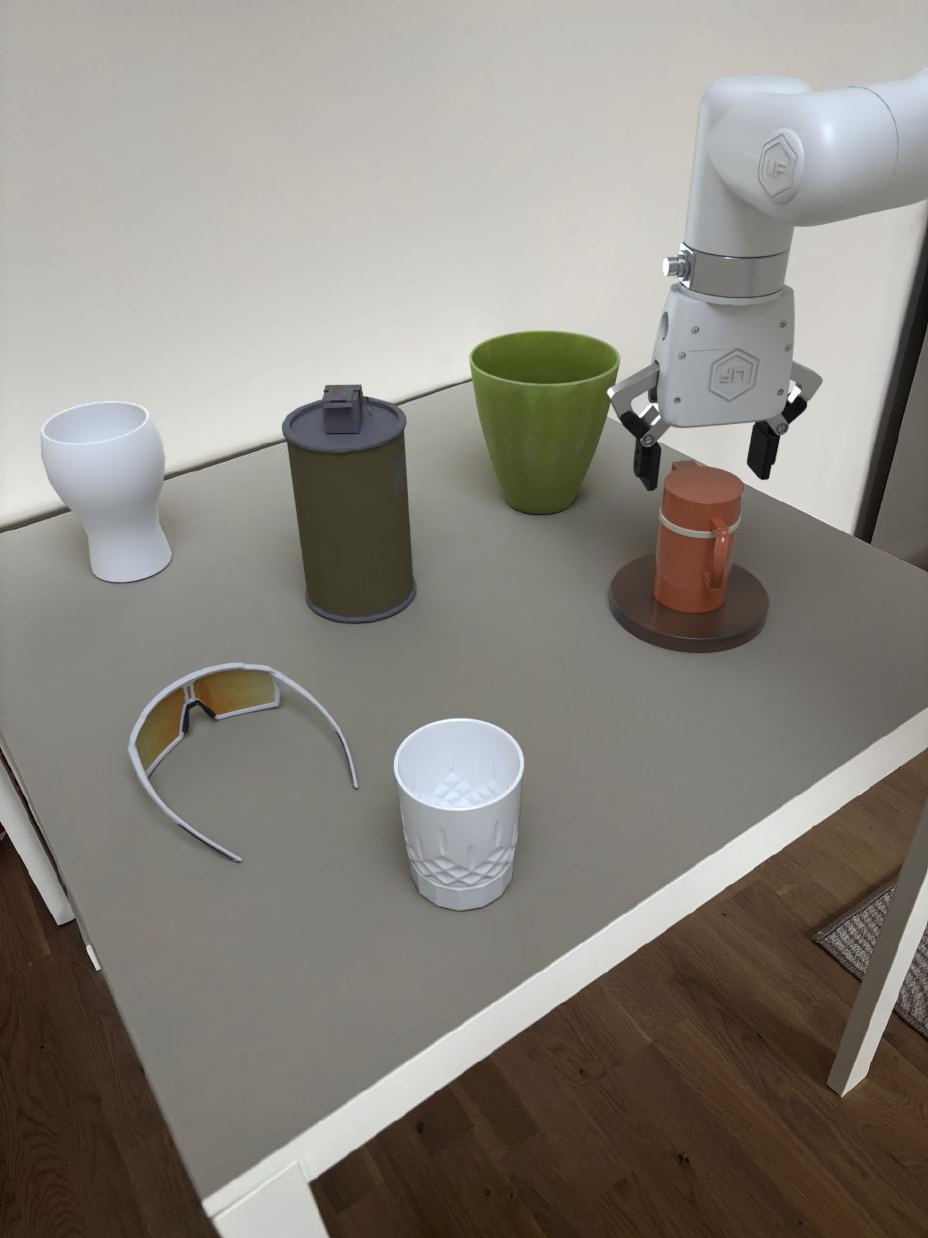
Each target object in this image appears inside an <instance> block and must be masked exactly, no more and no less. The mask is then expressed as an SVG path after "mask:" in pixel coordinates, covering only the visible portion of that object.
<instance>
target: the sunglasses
mask: <svg viewBox="0 0 928 1238" xmlns="http://www.w3.org/2000/svg"><path fill="white" fill-rule="evenodd" d="M281 687H282V688H284V689H285V690H287V691H288V692H290V693H291V694H293V695H295V696H297V697H300V698H302V699H304V700H306V701H307V702H308V703H310V704H311V705H312V706H313V707H315V709H316V710H317V711H318V712H319V713H320V714H321V716H323V718H324V719H325V720H326V722H327V723H328V725H329V726H330V728H332V730H333V731H334V732H335V734H336V736H337V737H338V740H339V741H340V743H341V746H342V749H343V751H344V754H345V756H346V757H345V758H346V760H347V763H348V767H349V771H350V776H351V781H352V785H353V788H354V789H358V787H359V786H358V780H357V774H356V770H355V765H354V762H353V757H352V754H351V750H350V747H349V744H348V743H347V740H346V738H345V736H344V734H343V732H342V730H341V728H340V727H339V725H338V723H336V721H335V720H334V718H333V717H332V716H331V715H330V713H329V712H328V711H327V710H326V709H325V708H324V706H323V705H322V704H321V703H320V702H319V701H318V700H317V699H316V698H315V697H314V696H313V695H311V693H310V692H309V691H308V690H307V689H305V688H304V687H302V686H301V685H300V684H298V683H297V682H296V681H294V680H292V679H291V678H289V677H288V676H287V675H285V674H283V673H282V672H280V671H279V670H277V669H274V668H272V667H271V666H269V665H263V664H251V663H243V662H229V663H221V664H216V665H212V666H207V667H205V668H202V669H199V670H197V671H193V672H191V673H189V674H187V675H185V676H183V677H180V678H179V679H177V680H175V681H174V682H172V683H171V684H169V685H168V686H166V687H165V688H164V689H162V690H161V691H160V692H159V693H158V694H156V695H155V696H154V697H153V699H152V700H151V701H150V702H149V703H148V704H146V706H145V707H144V709H143V710H142V712H140V715H139V718H138V719H137V721H136V722H135V724H134V727H133V728H132V731H131V734H130V736H129V741H128V747H127V754H128V758H129V761H130V763H131V766H132V768H133V770H134V773H135V776H136V778H137V780H138V781H139V783H140V784H141V786H142V787H143V788H144V790H145V791H146V792H147V793H148V795H149V796H150V797H151V799H152V800H153V801H154V802H155V803H156V804H157V805H158V806H159V808H160V809H161V810H162V811H163V812H164V814H165V815H166V816H167V817H168V818H169V819H170V820H172V822H174V823H175V824H177V826H178V827H179V828H180V829H182V830H184V831H185V832H186V833H187V834H189V835H190V836H192V837H193V838H194V839H196V840H197V841H199V842H200V843H202V844H204V845H205V846H206V847H208V848H210V849H211V850H213V851H214V852H217V853H218V854H220V855H222V856H223V857H225V858H227V859H229V860H231V861H233V862H242V861H243V858H241V857H240V856H238V855H237V854H235V853H233V852H232V851H230V850H228V849H227V848H224V847H223V846H221V845H220V844H218V843H216V842H215V841H213V840H212V839H211V838H210V839H209V838H208V837H207V836H205V835H203V833H200V832H199V831H197V829H195V828H193V827H192V826H191V825H189V824H188V823H187V822H185V821H184V820H183V819H182V818H181V817H179V816H178V815H177V814H176V813H175V812H174V811H173V810H171V809H170V808H169V807H168V806H167V805H166V803H164V801H163V800H162V799H161V798H160V797H159V796H158V794H157V793H156V791H155V789H154V787H153V785H152V783H151V782H150V781H149V779H148V777H149V776H150V775H151V773H152V772H153V771H154V770H155V768H156V767H157V766H158V764H159V763H160V762H161V761H162V760H163V758H165V756H166V755H168V753H169V752H170V751H171V750H172V749H173V748H174V747H175V746H177V744H178V743H180V742H181V741H182V740H183V738H184V735H185V734H187V733H188V732H189V728H190V710H191V709H193V708H195V707H197V706H199V707H200V708H201V709H202V710H203V711H204V713H205V714H206V715H207V716H208V717H209V718H210V719H215V720H224V719H226V718H229V717H233V716H237V715H243V714H247V713H252V712H257V711H262V710H267V709H273V708H277V707H278V706H280V703H281V701H280V700H281Z"/></svg>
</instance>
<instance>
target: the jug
mask: <svg viewBox="0 0 928 1238" xmlns="http://www.w3.org/2000/svg"><path fill="white" fill-rule="evenodd" d="M744 493H745V484H744V482H743V481H742V479H741V478H740V477H738V476H737V475H736V474H734V473H733V472H730V471H729V470H725V469H722V468H719V467H713V466H707V465H699V464H698V463H697V462H696V460H695V459H685V460H677V461H676V460H675V461H672V462H671V471H670V472H669V473H667V474H666V475H665V477H664V479H663V485H662V493H661V503H660V506H659V510H658V518H659V521H658V530H657V538H656V539H657V540H656V547H655V554H656V556H655V565H654V574H653V583H652V592H653V595H654V597H655V598H656V599H657V600H658V601H659V602H660V603H661V604H663V605H664V606H666V607H668V608H671V609H673V610H676V611H680V612H686V613H703V612H709V611H712V610H715V609H717V608H718V607H720V606H721V605H722V604H723V603H724V602H725V600H726V596H727V590H728V584H729V578H730V572H731V566H732V563H733V560H734V555H735V554H734V553H735V548H736V542H737V535H738V530H739V526H740V524H741V519H742V513H741V511H742V505H743V499H744Z"/></svg>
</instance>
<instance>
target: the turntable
mask: <svg viewBox="0 0 928 1238" xmlns="http://www.w3.org/2000/svg"><path fill="white" fill-rule="evenodd" d="M655 556H656V553H651V554H648V555H647V554H646V555H644V556H640V557H638V558H635V559H634V560H632V561H630V562H628V563H626V564H625V565H623V566H622V567H621V568H620V569H619V570H618V571H617V572H616V574H615V575H614V576H613V579H612V580H611V584H610V590H609V591H610V592H609V607H610V611H611V612H612V613H611V614H612V615H613V617H614V618H615V619H616V621H617V622H618V624H619V625H620V626H622V628H624V630H626V631H627V632H628V633H630V634H632V635H633V636H634V637H636V638H637V639H640V640H642V641H644V642H646V643H649V644H651V645H653V646H656V647H660V648H663V649H668V650H672V651H676V652H685V653H701V654H702V653H715V652H723V651H727V650H732V649H734V648H737V647H740V646H741V645H744V644H746V643H748V642H750V641H751V640H753V639H754V638H755V637H756V636H758V635H759V634H760V632H761V631H762V630H763V628H764V626H765V624H766V621H767V616H768V613H769V607H770V599H769V595H768V592H767V590H766V588H765V586H764V584H762V582H761V580H759V578H757V577H756V576H755V575H754V574H753V573H751V572H750V571H749V570H747V569H746V568H744V567H742V566H740V565H739V564H737V563H734V562H732V566H731V572H730V578H729V584H728V590H727V596H726V600H725V602H724V603H723V604H722V605H721V606H720V607H718V608H717V609H715V610H712V611H709V612H703V613H686V612H680V611H676V610H673V609H671V608H668V607H666V606H664V605H663V604H661V603H660V602H659V601H658V600H657V599H656V598H655V597H654V595H653V592H652V583H653V574H654V565H655Z"/></svg>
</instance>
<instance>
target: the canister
mask: <svg viewBox="0 0 928 1238" xmlns="http://www.w3.org/2000/svg"><path fill="white" fill-rule="evenodd" d="M407 421H408V420H407V416H406V413H405V412H404V410H402V408H400V407H399V406H397V404H395V403H393V402H391V401H387V400H383V399H379V398H375V397H371V396H367V395H364V392H363V385H362V384H325V385H324V389H323V395H322V398H321V399H317V400H314V401H312V402H309V403H306V404H303V405H300V406H299V407H297V408H295V409H294V410H292V411H291V412H289V413H288V414H287V415H286V417H285V418H284V420H283V421H282V423H281V431H282V436H283V437H284V438H285V440H286V447H287V454H288V460H289V461H288V462H289V467H290V468H289V469H290V476H291V482H292V483H291V484H292V490H293V497H294V505H295V513H296V520H297V529H298V535H299V542H300V543H299V544H300V551H301V557H302V564H303V565H302V566H303V573H304V579H305V590H304V597H305V601H306V603H307V605H308V607H310V609H311V610H313V611H314V613H315V614H316V615H319V616H321V617H324V618H325V619H328V620H330V621H332V622H333V621H334V622H338V623H346V624H365V623H366V624H367V623H372V622H377V621H381V620H385V619H387V618H390V617H392V616H394V615H395V614H397V613H399V612H401V611H402V610H404V609H405V608H406V607H408V606H409V604H410V603H412V601H413V600H414V598H415V595H416V592H417V582H416V578H415V577H414V571H413V570H414V569H413V556H412V555H413V553H412V538H411V537H412V536H411V522H410V506H409V505H410V504H409V489H408V473H407V472H408V470H407V456H406V455H407V454H406V439H405V437H406V436H405V429H406V426H407V423H408V422H407Z"/></svg>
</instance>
